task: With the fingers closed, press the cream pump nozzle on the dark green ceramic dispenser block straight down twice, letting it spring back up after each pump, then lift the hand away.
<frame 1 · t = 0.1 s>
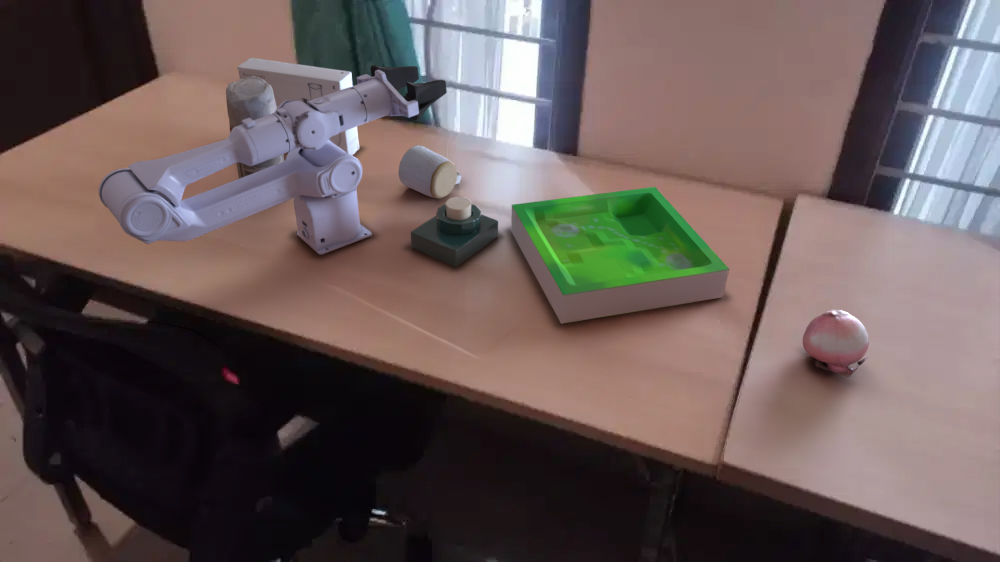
hand: (430, 79, 122), 22 cm above the table, tool horizontal, fingers open, 7 cm apart
spray can: (266, 193, 136), on the table
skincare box: (305, 147, 151), on the table
onion: (829, 362, 102), on the table
pump block: (455, 242, 124), on the table
tray: (610, 263, 120), on the table
nozzle: (458, 208, 121), point 6 cm above the table, slide at 0.1 cm
ceramic mug: (433, 189, 138), on the table
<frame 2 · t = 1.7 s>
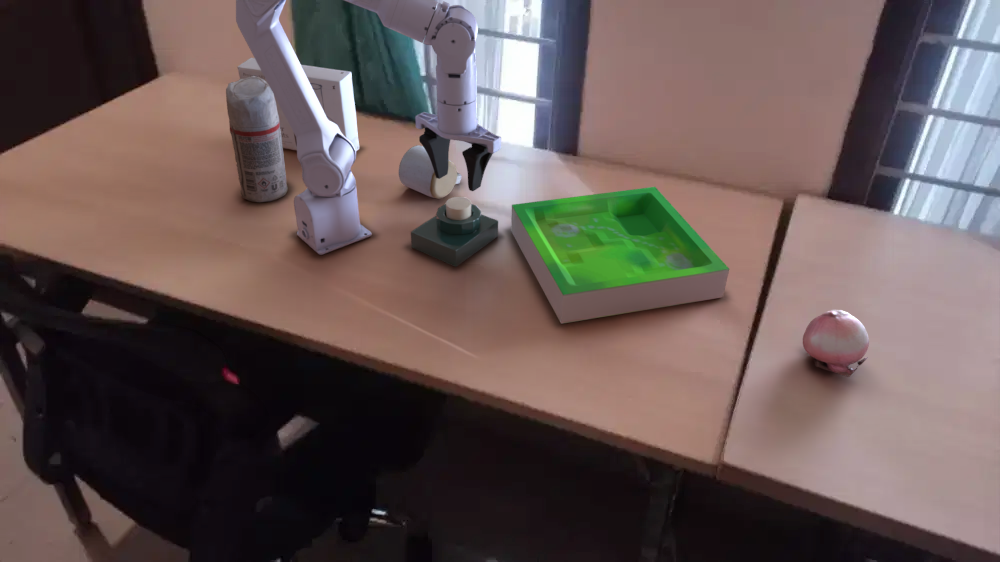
hand: (458, 182, 118), 10 cm above the table, tool pointing down, fingers open, 6 cm apart
nothing on the table moved.
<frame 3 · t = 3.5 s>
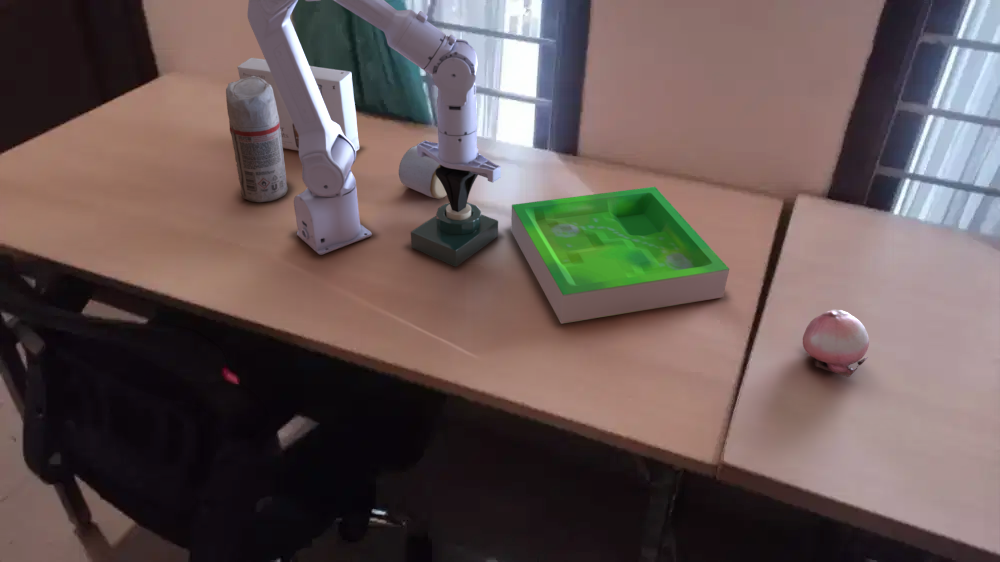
hand: (458, 208, 121), 6 cm above the table, tool pointing down, fingers closed, pressing on nozzle
nozzle: (458, 214, 122), point 5 cm above the table, slide at -0.9 cm, touching gripper
everything else where it was.
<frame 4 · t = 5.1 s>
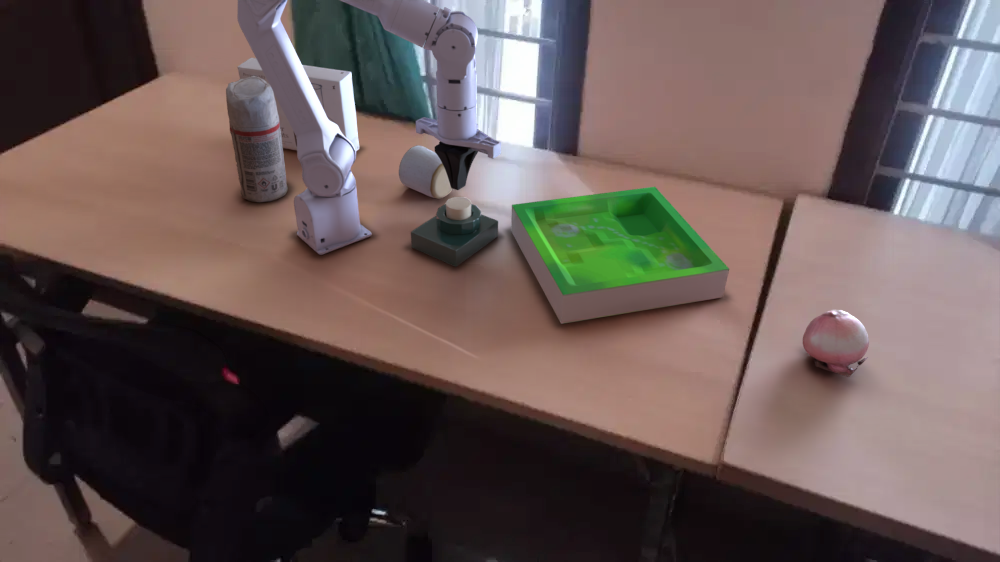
hand: (458, 186, 119), 10 cm above the table, tool pointing down, fingers closed
nozzle: (458, 208, 121), point 6 cm above the table, slide at 0.1 cm
everything else where it was.
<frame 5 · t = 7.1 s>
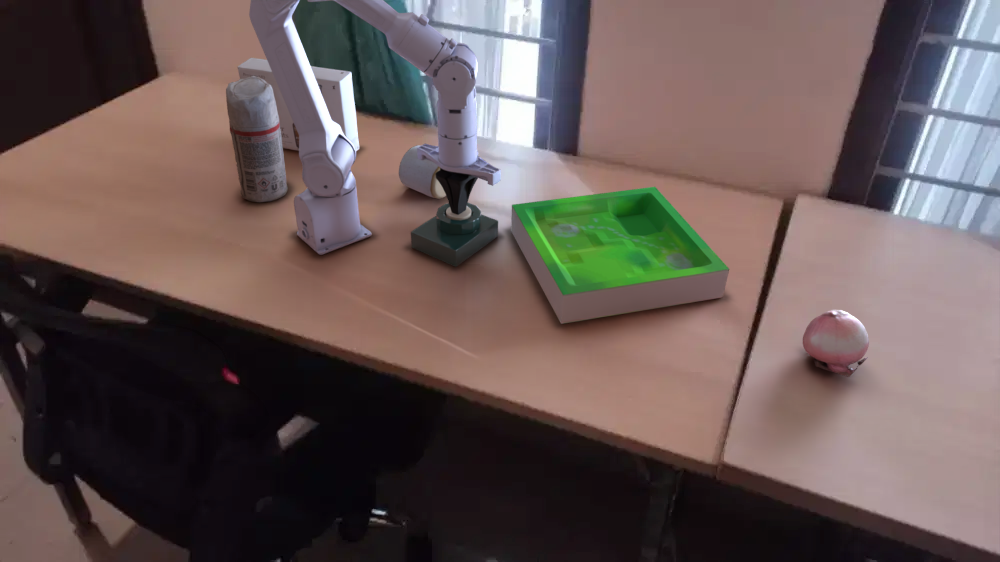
hand: (458, 211, 121), 5 cm above the table, tool pointing down, fingers closed, pressing on nozzle
nozzle: (458, 216, 122), point 4 cm above the table, slide at -1.4 cm, touching gripper
everything else where it was.
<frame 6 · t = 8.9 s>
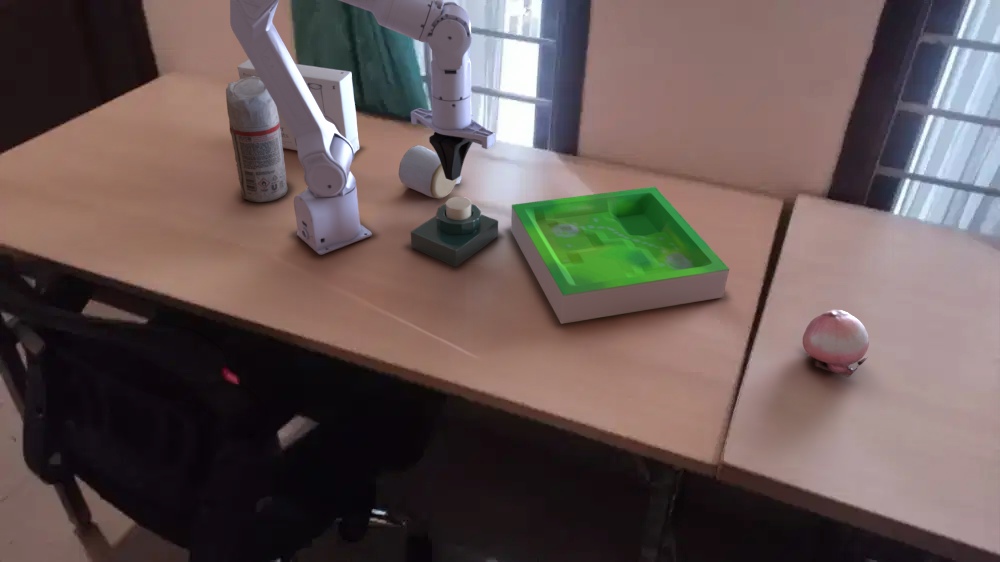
hand: (452, 177, 120), 10 cm above the table, tool pointing down, fingers closed
nozzle: (458, 208, 121), point 6 cm above the table, slide at 0.1 cm
everything else where it was.
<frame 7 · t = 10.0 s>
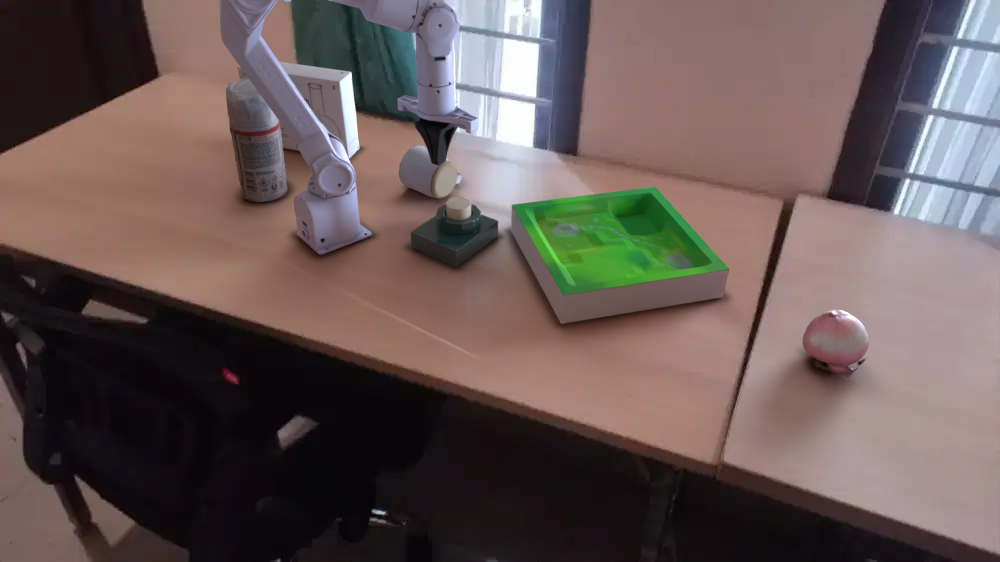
hand: (438, 162, 124), 10 cm above the table, tool pointing down, fingers closed
nothing on the table moved.
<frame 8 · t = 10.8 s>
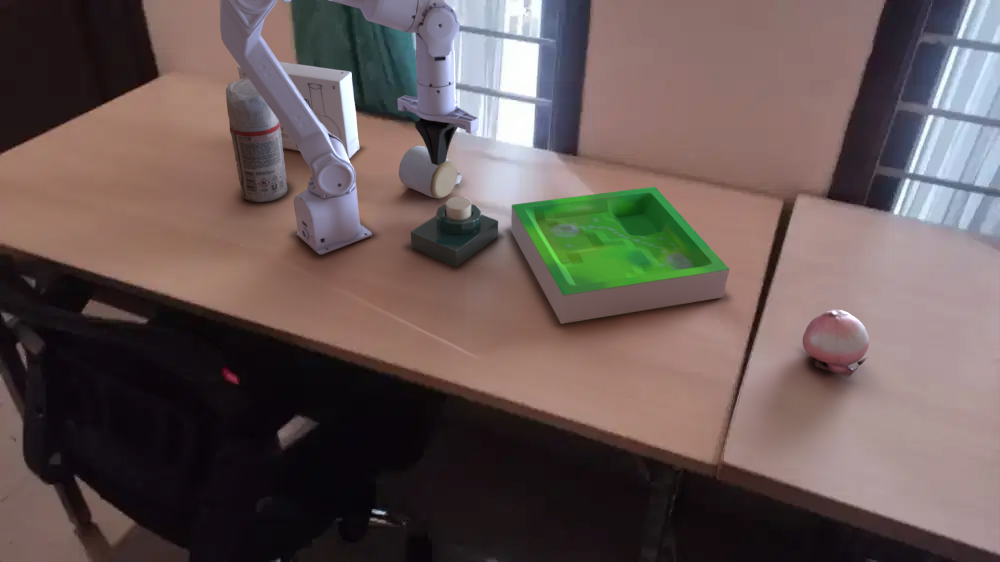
hand: (438, 162, 124), 10 cm above the table, tool pointing down, fingers closed
nothing on the table moved.
at the end: nozzle pushed in 1.4 cm at the most during the clip, back to where it started at the end; nozzle slide at 0.1 cm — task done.
